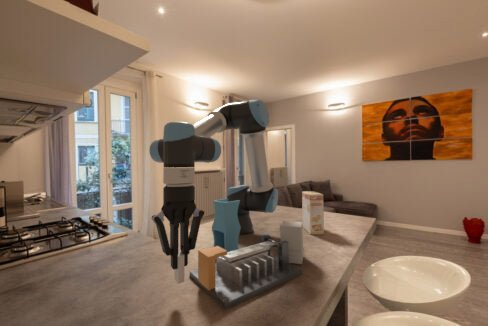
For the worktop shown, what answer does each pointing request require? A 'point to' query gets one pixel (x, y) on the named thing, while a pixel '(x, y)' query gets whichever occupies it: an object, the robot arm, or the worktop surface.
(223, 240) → the vase
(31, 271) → the worktop surface
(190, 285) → the worktop surface
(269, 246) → the strap
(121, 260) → the worktop surface
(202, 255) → the lug slider
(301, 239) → the supplement box
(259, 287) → the heatsink
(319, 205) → the coffeecake box
